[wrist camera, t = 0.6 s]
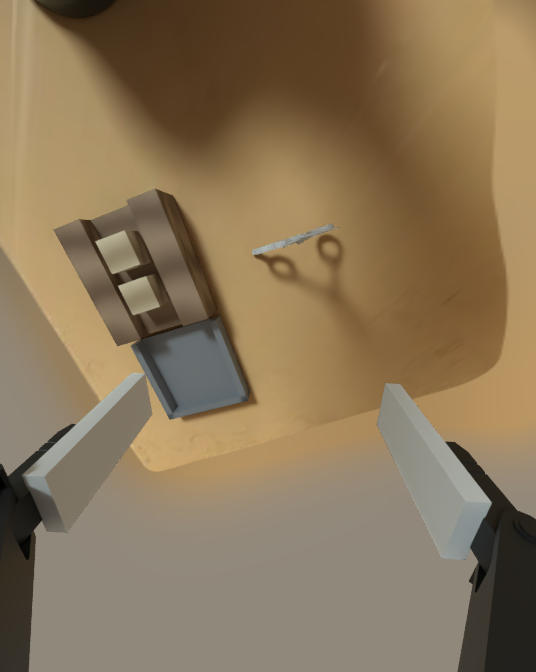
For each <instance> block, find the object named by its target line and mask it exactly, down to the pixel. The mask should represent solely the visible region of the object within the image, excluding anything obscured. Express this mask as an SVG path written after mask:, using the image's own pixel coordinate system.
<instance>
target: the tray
mask: <svg viewBox="0 0 536 672" xmlns="http://www.w3.org/2000/svg"><path fill="white" fill-rule="evenodd" d="M131 348H132V350H133V351H134V353H135V355H136V357H137V359H138V361H139V363H140V365H141V366H142V368H143V370H144V372H145V374H146V376H147V378H148V380H149V381H150V383H151V385H152V387H153V389H154V391H155V393H156V395H157V397H158V398H159V400H160V402H161V404H162V406H163V408H164V410H165V412H166V413H167V415H168V417H169V419H174V418H178V417H183V416H187V415H191V414H195V413H199V412H203V411H207V410H211V409H215V408H220V407H224V406H228V405H232V404H236V403H240V402H244V401H248V399H249V394H250V391H249V388H248V386H247V383H246V381H245V378H244V376H243V373H242V370H241V368H240V365H239V363H238V360H237V358H236V355H235V353H234V350H233V348H232V345H231V343H230V340H229V337H228V335H227V332H226V330H225V327H224V325H223V322H222V320H221V317H220V315H219V316H216V317H212V318H209V319H206V320H202V321H199V322H196V323H193V324H189V325H186V326H183V327H179V328H176V329H173V330H169V331H166V332H163V333H160V334H156V335H153V336H150V337H146V338H143V339H140V340H138V341H136V342H135V343H134V344H132V345H131Z"/></svg>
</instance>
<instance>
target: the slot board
mask: <svg viewBox="0 0 536 672" xmlns="http://www.w3.org/2000/svg"><path fill="white" fill-rule="evenodd" d="M126 201H127V203H128V206H125V207H123V208H120V209H118V210H115V211H113V212H110V213H108V214H105V215H103V216H100V217H98V218H95V219H93V220H82V219H79V220H76V221H74V222H71V223H69V224H66V225H64V226H61V227H59V228H56V229H54V232H55V234H56V236H57V237H58V239H59V241H60V243H61V245H62V246H63V248H64V250H65V252H66V254H67V255H68V257H69V259H70V261H71V263H72V265H73V266H74V268H75V270H76V272H77V274H78V275H79V277H80V279H81V281H82V283H83V285H84V286H85V288H86V290H87V292H88V294H89V295H90V297H91V299H92V301H93V303H94V305H95V306H96V308H97V310H98V312H99V314H100V315H101V317H102V319H103V321H104V323H105V325H106V326H107V328H108V330H109V332H110V334H111V335H112V337H113V339H114V341H115V343H116V345H117V346H120V345H123V344H127V343H130V342H133V341H136V340H140V339H142V338H143V337H145V336H146V335H147V334H150V333H153V332H157V331H160V330H163V329H167V328H170V327H173V326H176V325H180V324H182V325H183V326H186V325H189V324H193V323H196V322H199V321H202V320H206V319H209V317H210V316H211V315H212V314H213V313H214V312H215V311H216V310H217V307H216V304H215V302H214V299H213V297H212V294H211V292H210V289H209V287H208V284H207V282H206V279H205V276H204V274H203V271H202V269H201V266H200V264H199V261H198V259H197V256H196V254H195V251H194V249H193V246H192V243H191V241H190V238H189V236H188V233H187V231H186V228H185V226H184V223H183V221H182V218H181V216H180V213H179V210H178V208H177V205H176V203H175V200H174V198H173V195H170V194H168V193H165V192H162V191H160V190H157V189H153V190H151V191H148V192H146V193H143V194H141V195H138V196H136V197H133V198H131V199H128V200H126ZM124 230H129V231H138V232H139V234H140V237H141V239H142V241H143V243H144V246H145V248H146V250H147V252H148V254H149V257H150V259H151V261H152V262H151V263H148V264H145V265H142V266H139V267H137V268H134V269H131V270H128V271H125V272H120V273H116V274H112V273H111V271H110V269H109V267H108V265H107V263H106V261H105V260H104V258H103V256H102V254H101V252H100V250H99V248H98V246H97V244H96V242H95V241H98V240H100V239H103V238H106V237H108V236H111V235H114V234H116V233H119V232H121V231H124ZM156 273H157V274H158V277H159V279H160V281H161V283H162V285H163V288H164V290H165V292H166V294H167V297H168V299H169V302H168V303H166V304H164V305H162V306H160V307H157V308H154V309H151V310H148V311H145V312H142V313H139V314H136V315H132V313H131V311H130V309H129V307H128V305H127V303H126V301H125V299H124V297H123V295H122V293H121V291H120V289H119V287H118V286H119V285H122V284H125V283H128V282H131V281H134V280H136V279H139V278H142V277H145V276H149V275H152V274H156Z"/></svg>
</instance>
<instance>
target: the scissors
mask: <svg viewBox="0 0 536 672" xmlns="http://www.w3.org/2000/svg"><path fill="white" fill-rule="evenodd" d="M338 228H340V227H338ZM333 229H336V228H334V227H333V223H332V224H329V225H326V226H323V227H320V228H317V229H314V230H311V231H309V232H307V233H304V234H300V235H297V236H294V237H291V238H288V239H285V240H282V241H278V242H275V243H272V244H269V245H266V246H263V247H260V248H257V249H254V250H252V253H253V255H255V254H256V255H257V254H260V253H263V252H266V251H269V250H273V249H277V248H280V247H282V248H284V247H286V246H288V245H291V244H293V243H297V244H300V243H303V242H305V241H304V240H308V239H309V238H311V237H314V236H316V235H318V234H321V233H324V232H327V231H330V230H333Z"/></svg>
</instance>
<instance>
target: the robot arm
mask: <svg viewBox="0 0 536 672" xmlns="http://www.w3.org/2000/svg"><path fill="white" fill-rule="evenodd" d="M36 1H37V2H39V3H40V4H41V5H43V6H44V7H46V8H48V9H49V10H51V11H53V12H55V13H58V14H61V15H64V16H68V17H86V16H91V15H94V14H96V13H98V12H100V11H102V10H103V9H105V8H106V7H107V6H109V5H110V4H111V3H112V2H113V1H114V0H36ZM151 416H152V409H151V404H150V398H149V392H148V387H147V381H146V376H145V374H143V373H131V374H130V375H129V376H128V377H127V378H126V379H125V380H124V381H123V382H122V383H120V384H119V385H118V386H117V387H116V388H115V389H114V390H113V391H112V392H111V393H110V394H109V395H108V396H106V397H105V398H104V399H103V400H102V401H101V402H100V403H99V404H98V405H97V406H96V407H95V408H94V409H93V410H91V411H90V412H89V413H88V414H87V415H86V416H85V417H84V418H83V419H82V420H81V421H80V422H79V423H77V424H71V425H69V426H68V427H66V428H64V429H62V430H61V431H59V432H58V433H57V434H55V435H54V436H53V437H52V438H51V439H50V440H49V441H48V443H45V444H44V445H43V446H42V447H41V448H40V449H39V451H36V452H35V453H34V454H33V455H32V456H30V457H29V458H28V459H27V460H26V461H25V462H24V463H23V464H21V465H20V466H19V467H18V468H17V469H16V470H15V471H14V472H13V473H12V474H10V475H9V476H7V474H6V472H5V470H4V468H3V466H2V464H0V672H28V671H29V654H30V653H29V652H30V635H31V617H32V598H33V580H34V561H35V543H36V536H35V533H34V529H35V528H36V527H37V526H38V524H39V523H40V522H41V521H42V522H43V524H44V526H45V528H46V531H49V532H63V533H67V532H68V531H69V530H70V528H71V527H72V526H73V524H74V523H75V521H76V520H77V519H78V517H79V516H80V514H81V513H82V512H83V510H84V509H85V507H86V506H87V505H88V503H89V502H90V500H91V499H92V498H93V496H94V495H95V493H96V492H97V490H98V489H99V488H100V487H101V485H102V484H103V482H104V481H105V479H106V478H107V477H108V475H109V474H110V473H111V471H112V470H113V468H114V467H115V466H116V464H117V463H118V461H119V460H120V459H121V457H122V456H123V454H124V453H125V452H126V450H127V449H128V448H129V446H130V445H131V443H132V442H133V441H134V439H135V438H136V436H137V435H138V434H139V432H140V431H141V429H142V428H143V427H144V425H145V424H146V422H147V421H148V420H149V418H150V417H151ZM377 426H378V428H379V430H380V432H381V434H382V436H383V439H384V441H385V443H386V445H387V447H388V449H389V451H390V453H391V455H392V457H393V459H394V461H395V463H396V465H397V467H398V469H399V471H400V473H401V476H402V478H403V480H404V482H405V484H406V486H407V488H408V490H409V492H410V494H411V496H412V498H413V500H414V502H415V504H416V506H417V508H418V510H419V513H420V515H421V516H422V519H423V521H424V523H425V525H426V527H427V529H428V531H429V533H430V535H431V537H432V539H433V541H434V543H435V545H436V547H437V549H438V552H439V554H440V555H441V558H444V559H460V560H465V559H466V557H467V555H468V553H469V551H470V549H471V550H472V551H473V553H474V555H475V556H476V558H477V560H478V564H477V566H476V568H475V570H474V572H473V574H472V576H471V578H470V580H469V582H470V583H472V584H473V586H472V592H471V598H470V603H469V609H468V615H467V621H466V626H465V632H464V638H463V644H462V650H461V656H460V661H459V667H458V672H536V519H535V518H533V517H531V516H530V515H527V514H525V513H522V512H520V511H517V510H516V509H515V507H514V506H513V505H512V504H511V503H510V501H509V500H508V499H507V498H506V497H505V495H504V494H503V493H502V492H501V491H500V490H499V488H498V487H497V486H496V485H495V484H494V482H493V481H492V480H491V479H490V478H489V476H488V475H486V474H485V472H484V471H483V469H482V468H481V467H480V466H479V465H477V462H476V461H475V460H474V459H473V457H472V456H471V455H470V454H469V453H468V452H467V451H466V450H465V449H463V448H462V447H461V446H459V445H458V444H456V443H455V442H445V441H444V440H443V439H442V438H441V436H439V434H438V432H437V431H436V430H435V429H434V427H433V426H432V425H431V423H430V422H429V421H428V419H427V418H426V417H425V416H424V414H423V413H422V412H421V411H420V409H419V408H418V407H417V406H416V404H415V403H414V401H413V400H412V399H411V397H410V396H409V395H408V394H407V392H406V391H405V390H404V388H403V387H402V386H401V385H400V384H392V383H385V387H384V392H383V397H382V402H381V407H380V412H379V416H378V421H377Z"/></svg>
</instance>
